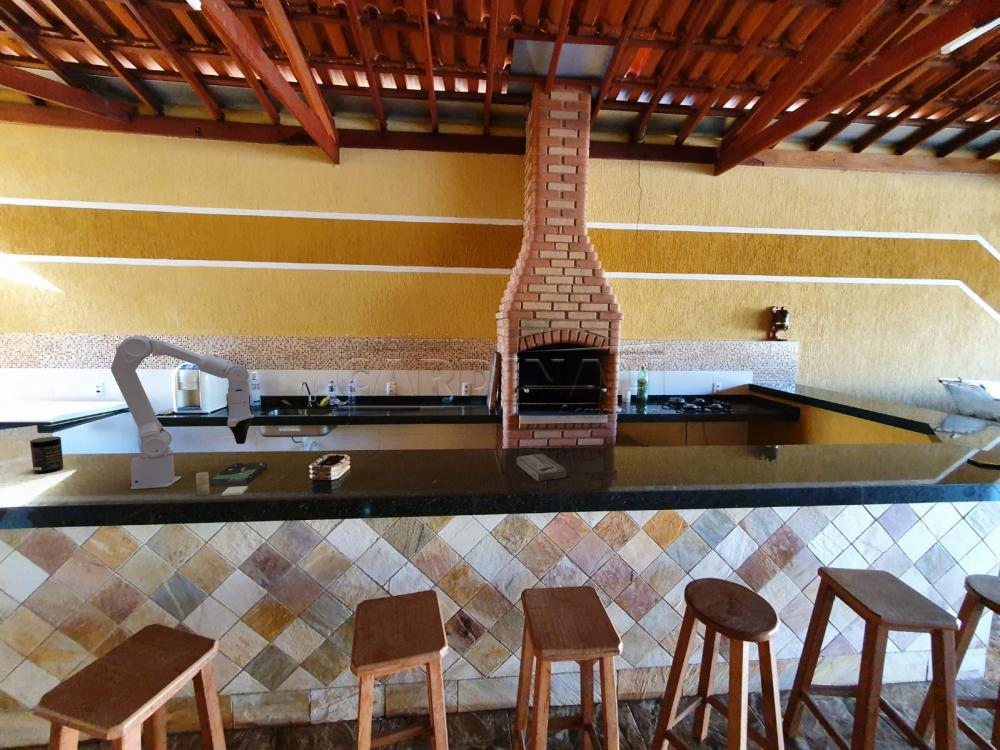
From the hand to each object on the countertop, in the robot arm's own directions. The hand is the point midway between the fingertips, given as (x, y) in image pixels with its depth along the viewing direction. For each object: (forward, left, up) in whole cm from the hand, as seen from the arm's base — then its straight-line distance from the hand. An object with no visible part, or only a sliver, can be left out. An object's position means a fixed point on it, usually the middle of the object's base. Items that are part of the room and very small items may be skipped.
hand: (240, 443), depth 135 cm
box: (+97, -17, -10) cm, 99 cm away
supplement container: (-60, +12, -10) cm, 62 cm away
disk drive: (+1, -5, -10) cm, 11 cm away
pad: (+4, -18, -9) cm, 21 cm away
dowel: (-4, -18, -9) cm, 21 cm away
